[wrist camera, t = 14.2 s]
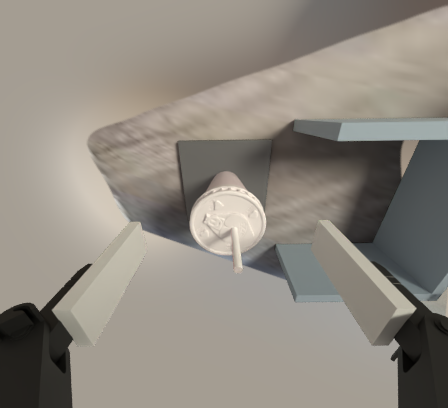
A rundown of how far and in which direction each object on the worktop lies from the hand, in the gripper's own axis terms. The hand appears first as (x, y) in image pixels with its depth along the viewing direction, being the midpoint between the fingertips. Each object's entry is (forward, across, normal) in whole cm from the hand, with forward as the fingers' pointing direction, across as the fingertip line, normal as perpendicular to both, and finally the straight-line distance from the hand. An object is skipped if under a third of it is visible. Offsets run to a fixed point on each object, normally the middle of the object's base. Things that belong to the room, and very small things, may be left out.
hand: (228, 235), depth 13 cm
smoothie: (+11, 0, 0) cm, 11 cm away
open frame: (+12, +16, -2) cm, 20 cm away
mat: (+11, 0, 0) cm, 11 cm away
